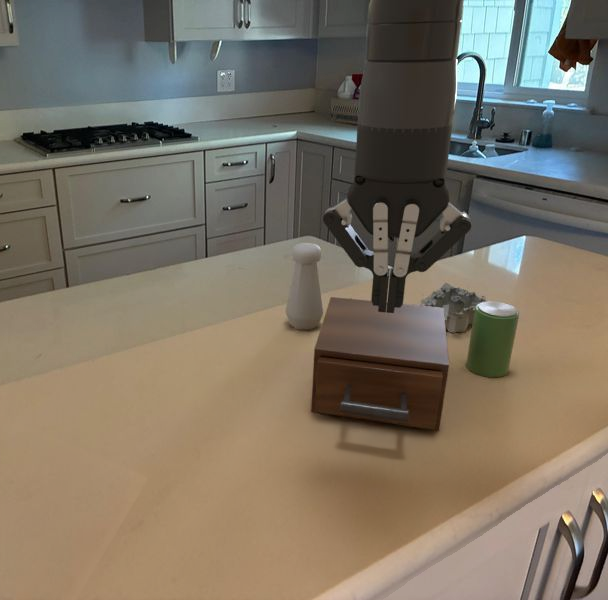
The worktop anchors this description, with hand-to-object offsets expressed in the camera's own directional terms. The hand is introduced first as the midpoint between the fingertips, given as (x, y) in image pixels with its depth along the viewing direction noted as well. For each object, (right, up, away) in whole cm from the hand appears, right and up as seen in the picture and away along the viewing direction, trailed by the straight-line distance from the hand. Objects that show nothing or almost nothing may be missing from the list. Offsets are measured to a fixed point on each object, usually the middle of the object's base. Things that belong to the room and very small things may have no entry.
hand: (386, 309), depth 58 cm
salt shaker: (-2, -3, +39) cm, 39 cm away
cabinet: (+5, -10, +21) cm, 24 cm away
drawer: (+4, -11, +17) cm, 21 cm away
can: (+21, -8, +25) cm, 34 cm away
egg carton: (+22, -2, +40) cm, 45 cm away
